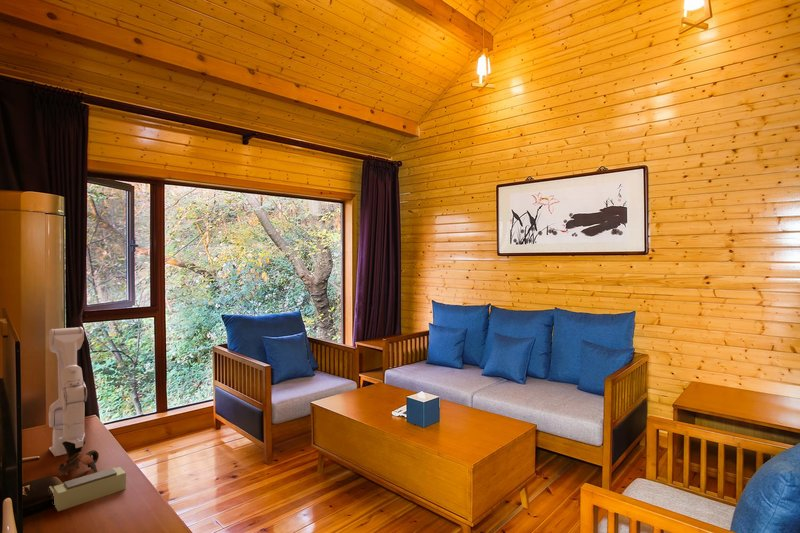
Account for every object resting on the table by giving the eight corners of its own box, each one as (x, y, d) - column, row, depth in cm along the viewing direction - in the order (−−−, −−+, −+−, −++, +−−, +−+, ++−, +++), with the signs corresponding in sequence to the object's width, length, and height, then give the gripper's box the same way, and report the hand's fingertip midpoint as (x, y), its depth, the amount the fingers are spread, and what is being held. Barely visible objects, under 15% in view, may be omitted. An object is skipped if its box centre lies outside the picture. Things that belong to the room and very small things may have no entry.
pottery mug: (86, 485, 138) (70, 464, 136) (63, 495, 140) (46, 475, 138) (112, 458, 150) (98, 439, 148) (90, 468, 151) (76, 449, 150)
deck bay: (48, 496, 130) (49, 477, 130) (114, 476, 143) (114, 459, 142) (58, 511, 123) (58, 491, 123) (125, 489, 135) (125, 470, 135)
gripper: (53, 419, 150) (53, 459, 150) (64, 431, 140) (64, 474, 141) (79, 414, 155) (78, 453, 156) (91, 425, 146) (90, 466, 146)
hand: (73, 462), depth 148 cm, fingers closed
